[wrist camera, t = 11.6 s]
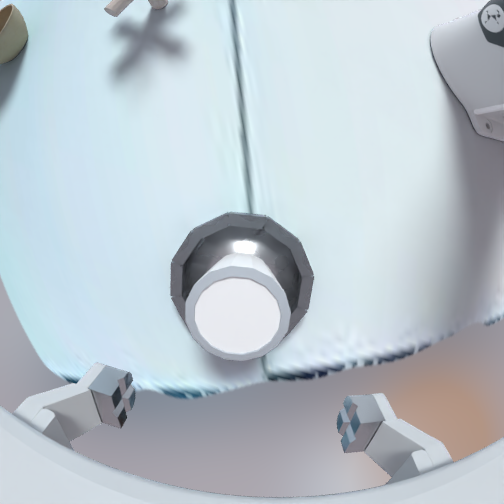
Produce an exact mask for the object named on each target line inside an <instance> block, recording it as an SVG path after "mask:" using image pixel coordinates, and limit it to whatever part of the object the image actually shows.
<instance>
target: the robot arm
mask: <svg viewBox="0 0 504 504" xmlns="http://www.w3.org/2000/svg"><path fill="white" fill-rule="evenodd" d="M431 47H432V51H433V55H434V58H435V60H436V63H437V65H438V67H439V69H440V71H441V73H442V75H443V77H444V79H445V80H446V82H447V84H448V85H449V87H450V88H451V90H452V91H453V93H454V94H455V95H456V97H457V98H458V99H459V101H460V102H461V103H462V104H463V106H464V107H465V109H466V111H467V113H468V115H469V117H470V120H471V122H472V124H473V127H474V129H475V130H476V132H477V133H478V134H479V135H482V136H485V137H489V138H493V139H496V140H499V141H503V142H504V0H490V1H489V2H488V3H487V4H486V5H485V6H484V7H483V8H482V9H480V10H478V11H475V12H473V13H470V14H468V15H466V16H464V17H461V18H456V19H454V20H452V21H451V22H448V23H444V24H440V25H437V26H435V27H434V28H433V30H432V32H431ZM132 381H133V378H132V374H131V373H130V372H127V371H124V370H120V369H117V368H114V367H111V366H107V365H104V364H101V363H98V362H97V363H94V364H93V366H92V367H91V368H90V369H89V370H88V371H87V372H86V374H85V375H84V376H83V377H82V378H81V379H80V381H79V382H78V383H77V384H74V383H72V384H69V385H66V386H63V387H60V388H57V389H54V390H50V391H47V392H44V393H40V394H37V395H33V396H30V397H27V399H26V400H25V401H24V402H23V403H22V404H21V405H20V406H19V407H18V408H17V409H16V410H15V412H13V414H11V413H10V412H8V411H7V410H6V409H4V408H3V407H2V406H0V504H504V437H503V438H501V439H499V440H498V441H496V442H494V443H492V444H491V445H489V446H487V447H485V448H483V449H481V450H479V451H477V452H475V453H473V454H471V455H469V456H467V457H465V458H463V459H460V460H458V461H456V462H453V460H452V458H451V456H450V455H449V453H448V451H447V450H446V448H445V446H444V444H443V443H442V442H440V441H438V440H437V439H435V438H433V437H431V436H430V435H428V434H426V433H424V432H422V431H421V430H419V429H417V428H416V427H414V426H412V425H410V424H409V423H407V422H405V421H404V420H402V419H397V417H396V415H395V413H394V412H393V410H392V408H391V406H390V404H389V402H388V400H387V399H386V397H385V395H384V394H383V393H378V394H371V395H356V396H347V397H346V398H345V400H344V403H343V404H344V407H345V408H343V409H342V410H341V411H340V413H339V415H338V418H337V429H338V433H340V434H341V435H342V436H343V437H342V439H341V443H342V447H343V450H344V453H350V452H360V451H364V452H365V453H366V454H367V455H368V456H369V457H370V458H371V459H373V461H374V462H375V463H377V464H378V465H379V466H380V467H381V468H382V469H383V470H384V471H386V472H387V473H388V474H389V475H390V476H391V477H392V478H391V479H390V480H389V481H388V482H387V483H386V484H385V485H383V486H379V487H374V488H369V489H364V490H358V491H352V492H346V493H338V494H330V495H320V496H307V497H249V496H236V495H226V494H217V493H211V492H203V491H198V490H192V489H187V488H182V487H177V486H173V485H169V484H164V483H160V482H157V481H153V480H149V479H146V478H142V477H139V476H136V475H133V474H130V473H127V472H124V471H121V470H118V469H116V468H113V467H110V466H108V465H105V464H102V463H100V462H98V461H95V460H93V459H91V458H88V457H86V456H84V455H82V454H80V453H77V452H75V451H74V449H73V448H72V446H71V444H70V441H72V440H74V439H75V438H77V437H79V436H81V435H83V434H84V433H86V432H88V431H90V430H91V429H93V428H95V427H97V426H99V425H100V424H102V423H105V424H108V425H111V426H114V427H118V428H122V426H123V424H124V422H125V421H126V419H127V415H126V412H128V411H130V410H131V409H132V408H133V405H134V402H135V389H134V388H133V386H132V385H131V383H132Z"/></svg>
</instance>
